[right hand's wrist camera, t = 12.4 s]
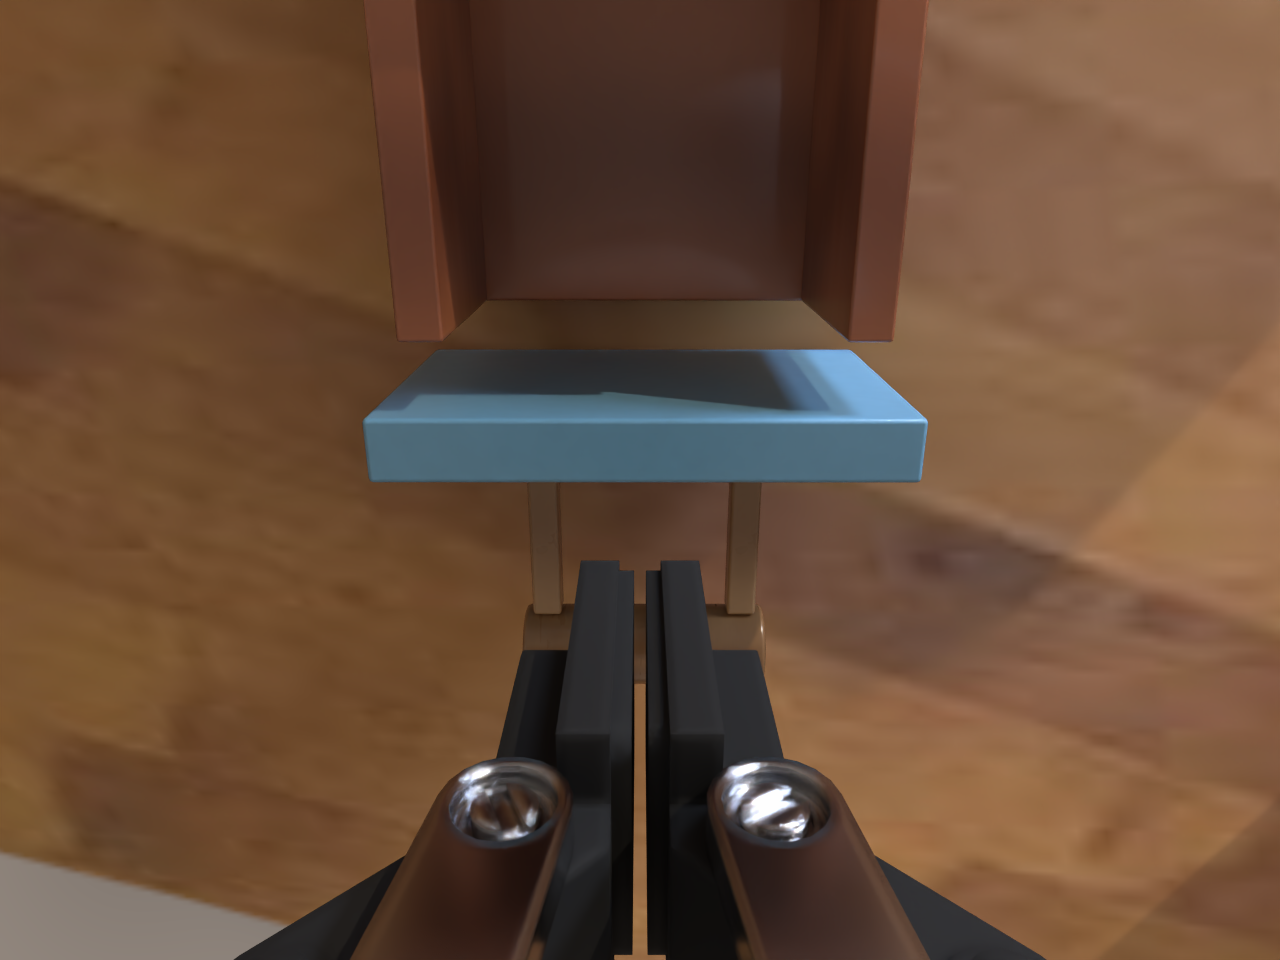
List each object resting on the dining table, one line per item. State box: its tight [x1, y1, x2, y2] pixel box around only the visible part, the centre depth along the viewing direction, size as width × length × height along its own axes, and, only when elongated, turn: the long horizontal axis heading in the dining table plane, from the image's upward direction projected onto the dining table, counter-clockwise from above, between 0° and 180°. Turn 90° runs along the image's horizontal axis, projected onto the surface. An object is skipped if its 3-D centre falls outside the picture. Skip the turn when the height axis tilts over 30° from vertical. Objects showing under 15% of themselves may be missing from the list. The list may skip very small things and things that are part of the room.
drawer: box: [362, 0, 929, 684], centre depth 16 cm, size 25×10×6 cm, turn 0°
